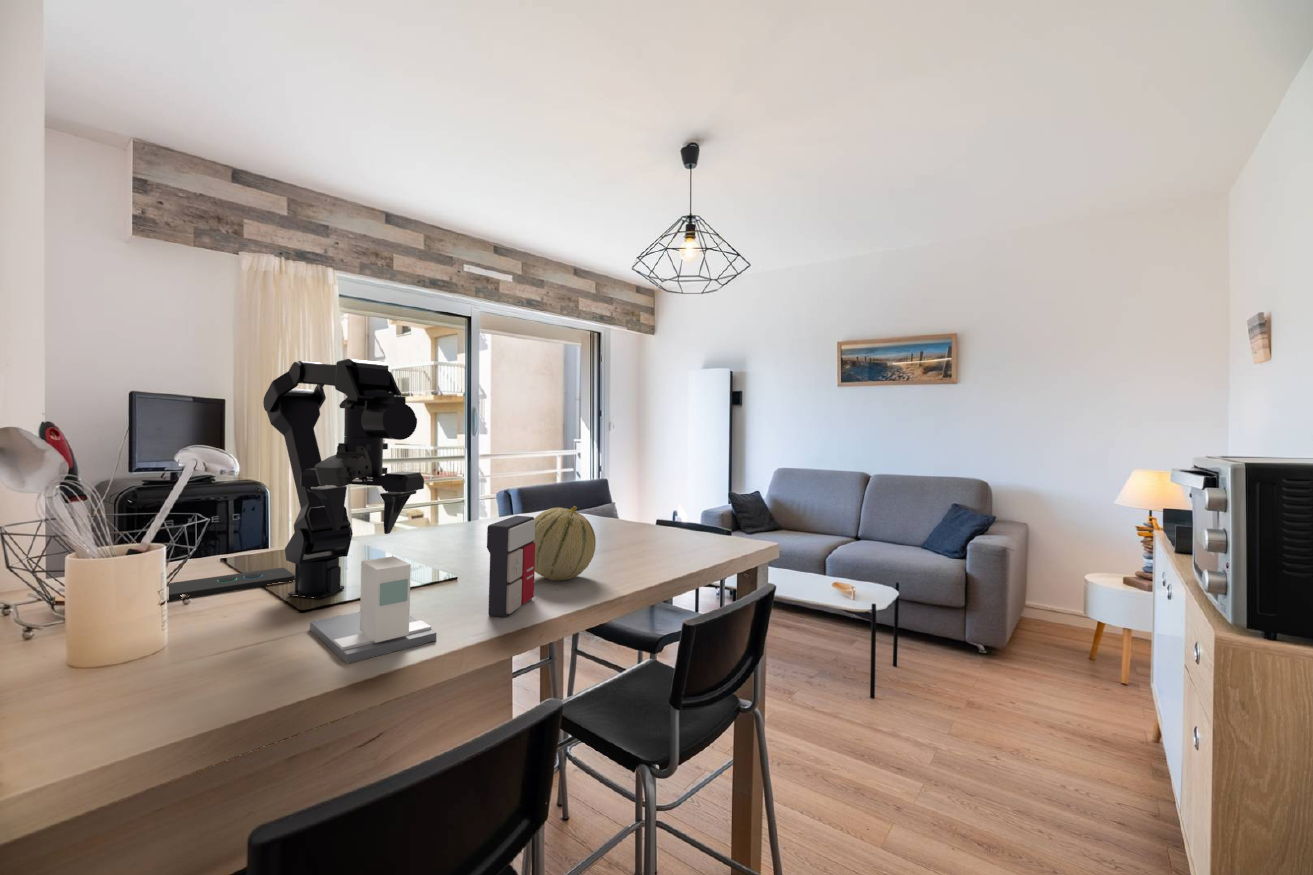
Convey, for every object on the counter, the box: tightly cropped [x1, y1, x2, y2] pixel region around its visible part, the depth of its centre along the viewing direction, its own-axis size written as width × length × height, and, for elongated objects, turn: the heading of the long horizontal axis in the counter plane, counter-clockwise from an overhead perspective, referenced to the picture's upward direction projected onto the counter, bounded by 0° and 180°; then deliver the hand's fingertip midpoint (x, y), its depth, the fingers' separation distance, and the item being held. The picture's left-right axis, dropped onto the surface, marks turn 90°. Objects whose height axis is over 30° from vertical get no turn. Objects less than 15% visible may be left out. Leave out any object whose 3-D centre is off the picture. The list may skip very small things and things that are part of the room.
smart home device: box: [168, 567, 295, 602], centre depth 105 cm, size 8×2×20 cm
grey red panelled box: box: [486, 515, 536, 618], centre depth 100 cm, size 11×4×15 cm, turn 168°
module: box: [359, 555, 412, 643], centre depth 82 cm, size 6×4×10 cm
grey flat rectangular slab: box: [309, 611, 437, 664], centre depth 85 cm, size 12×16×2 cm
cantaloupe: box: [534, 505, 596, 581], centre depth 118 cm, size 15×15×15 cm
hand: (361, 531), depth 95 cm, fingers open, 9 cm apart
